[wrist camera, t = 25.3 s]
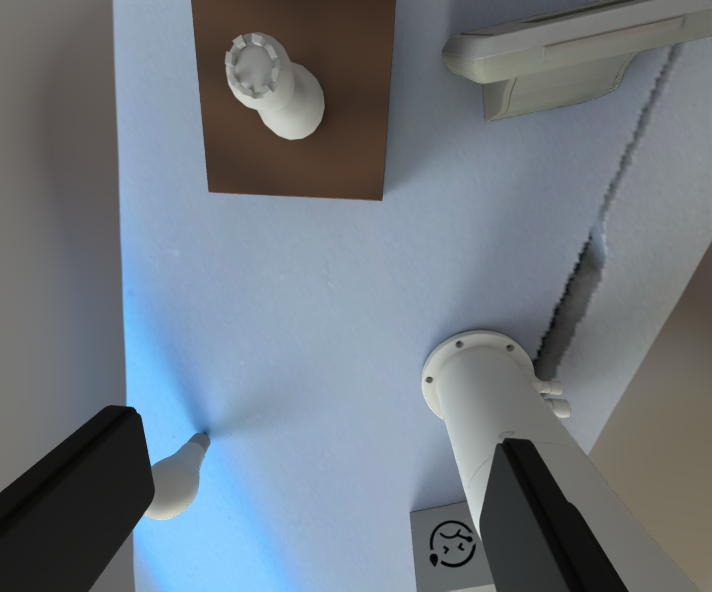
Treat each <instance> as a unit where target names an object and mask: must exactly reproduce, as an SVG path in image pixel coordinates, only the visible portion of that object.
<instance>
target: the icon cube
mask: <svg viewBox="0 0 712 592" xmlns="http://www.w3.org/2000/svg"><path fill="white" fill-rule="evenodd" d="M410 522H411V533H412V544H413V555H414V565H415V576H416V587H417V592H497V591H496V588H495V584H494V581H493V578H492V574H491V571H490V567H489V564H488V560H487V557H486V553H485V550H484V547H483V543H482V541H481V539H480V537H479V535H478V533H477V530H476V528H475V525H474V523H473V519H472V516H471V512H470V509H469V505H468V502H467V501H466V502H461V503H456V504H451V505H446V506H441V507H436V508H431V509H426V510H421V511H416V512H411V513H410Z"/></svg>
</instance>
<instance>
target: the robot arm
mask: <svg viewBox="0 0 712 592" xmlns="http://www.w3.org/2000/svg"><path fill="white" fill-rule="evenodd" d="M458 341H460V342H458ZM456 342H458V343H456ZM421 381H422V390H423V394H424V397H425V400H426V402H427V404H428V405H429V407H430V408H431V410H432V411H433V412H434V413H435V414H436V415H437V416H439V417H440V418H441V419H443V420H444V421H445V423H446V427H447V430H448V434H449V437H450V441H451V444H452V448H453V452H454V455H455V459H456V462H457V466H458V469H459V473H460V477H461V480H462V484H463V487H464V491H465V494H466V498H467V502H468V505H469V509H470V512H471V516H472V519H473V523H474V525H475V528H476V530H477V533H478V535H479V537H480V539H481V541H482V543H483V547H484V550H485V553H486V557H487V560H488V564H489V567H490V571H491V574H492V578H493V581H494V584H495V588H496V591H497V592H703V591H702V590H701V589H700V588H699V587H698V586H697V585H696V584H695V583H694V582H693V581H692V580H691V579H690V578H689V577H688V575H687V574H686V573H685V572H684V571H683V570H682V569H681V568H680V567H679V566H678V564H677V563H676V562H675V561H674V560H673V559H672V558H671V557H670V556H669V555H668V554H667V552H666V551H665V550H664V549H663V548H662V547H661V546H660V545H659V544H658V543H657V541H656V540H655V539H654V538H653V537H652V536H651V535H650V534H649V533H648V531H647V530H646V529H645V528H644V526H643V525H642V524H641V523H640V522H639V520H638V519H637V518H636V517H635V516H634V514H633V513H632V512H631V511H630V509H629V508H628V507H627V506H626V505H625V503H624V502H623V501H622V500H621V498H620V497H619V496H618V495H617V494H616V493H615V491H614V490H613V489H612V488H611V486H610V485H609V484H608V482H607V481H606V480H605V478H604V477H603V476H602V475H601V473H600V472H599V471H598V469H597V468H596V467H595V465H594V464H593V463H592V462H591V460H590V459H589V458H588V456H587V455H586V454H585V453H584V451H583V450H582V449H581V447H580V446H579V445H578V443H577V442H576V441H575V440H574V438H573V437H572V436H571V434H570V433H569V432H568V430H567V429H566V428H565V427H564V425H563V424H562V423H561V421H560V420H559V419H558V417H562V418H568V417H569V416H570V413H571V408H570V404H569V403H568V401H567V400H564V399H551V398H549V399H543V398H542V397H541V395H540V393H548V394H556V395H561V394H562V393H563V389H564V388H563V385H562V383H561V382H558V381H540V379H539V378H536V376H535V375H534V368H533V365H532V362H531V360H530V358H529V356H528V355H527V353H526V352H525V351H524V350H523V348H522V347H521V346H520V345H519V344H518V343H516V342H515V341H514V340H512V339H511V338H509V337H507V336H505V335H503V334H501V333H497V332H493V331H486V330H475V331H467V332H463V333H460V334H457V335H455V336H452V337H450V338H448V339H447V340H445V341H444V342H442V343H441V344H439V345H438V346H437V347H436V348H435V349H434V350H433V351H432V353H431V354H430V356H429V357H428V359H427V360H426V362H425V365H424V367H423V371H422V377H421ZM154 495H155V486H154V480H153V475H152V470H151V465H150V460H149V454H148V449H147V444H146V439H145V434H144V429H143V423H142V418H141V415H140V414H139V413H137V412H136V409H135V408H134V407H127V406H115V405H110V406H107V407H105V408H104V409H102V410H101V411H100V412H99V413H97V414H96V415H95V416H94V417H92V418H91V419H90V420H89V421H88V422H86V423H85V424H84V425H83V426H81V427H80V428H79V429H78V430H76V431H75V432H74V433H73V434H72V435H70V436H69V437H68V438H67V439H65V440H64V441H63V442H62V443H60V444H59V445H58V446H57V447H56V448H54V449H53V450H52V451H51V452H49V453H48V454H47V455H46V456H45V457H44V458H42V459H41V460H40V461H38V462H37V463H36V464H35V465H33V466H32V467H31V468H30V469H29V470H27V471H26V472H25V473H24V474H22V475H21V476H20V477H19V478H17V479H16V480H15V481H14V482H13V483H11V484H10V485H9V486H8V487H7V488H5V489H4V490H3V491H2V492H0V592H89V590H90V589H91V587H92V586H93V585H94V583H95V582H96V580H97V579H98V578H99V576H100V575H101V573H102V572H103V571H104V569H105V568H106V566H107V565H108V564H109V562H110V561H111V559H112V558H113V556H114V555H115V554H116V552H117V551H118V550H119V548H120V547H121V545H122V544H123V543H124V541H125V540H126V538H127V537H128V536H129V534H130V533H131V531H132V530H133V529H134V527H135V526H136V524H137V523H138V522H139V520H140V519H141V517H142V516H143V514H144V513H145V512H146V510H147V509H148V507H149V506H150V504H151V503H152V501H153V498H154Z"/></svg>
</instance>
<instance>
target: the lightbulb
mask: <svg viewBox="0 0 712 592" xmlns="http://www.w3.org/2000/svg"><path fill="white" fill-rule="evenodd" d="M209 445H210V438H209V437H208V436H207V435H206V434H204V433H196V434H194V435H193V436H192V438H190V440H189V441H188V442H187V443H186V444H184V445H183V446H182V447H181V448H180V449H179V450H178V451H177V452H176V453H175V454H173V455H172V456H170V457H167V458H165V459H163V460H161V461H159V462H157V463H155V464H154V465H153V466H151V470H152V475H153V480H154V486H155V495H154V498H153V501H152V503H151V504H150V506H149V507H148V509H147V510H146V512H145V513H144V515H146V516H147V517H149V518H151V519H155V520H166V519H170V518H172V517H175V516H177V515H179V514H180V513H182V512H183V511H184V510H185V509H187V507H188V506H189V505H190V504H191V503H192V502H193V500H194V498H195V496H196V494H197V491H198V487H199V470H200V466H201V463H202V461H203V459H204V457H205V453H206V451H207V449H208V447H209Z"/></svg>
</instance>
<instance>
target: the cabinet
mask: <svg viewBox="0 0 712 592" xmlns="http://www.w3.org/2000/svg"><path fill="white" fill-rule="evenodd" d="M191 4H192V15H193V26H194V37H195V48H196V59H197V70H198V81H199V92H200V103H201V114H202V125H203V136H204V147H205V158H206V169H207V180H208V191H209V192H212V193H231V194H251V195H271V196H291V197H310V198H330V199H350V200H369V201H382V198H383V183H384V169H385V154H386V139H387V125H388V110H389V95H390V81H391V66H392V52H393V37H394V22H395V8H396V0H191ZM257 32H260V33H263V34H266V35H269V36H272V37H273V38H274V39H275V40H276V41H278V42H279V43H280V44H281V45H282V46H283V47H284V49H285V51H286V53H287V55H288V57H289V59H290V62H293V63H296V64H299V65H302V66H304V67H305V68H306V69H307V70H308V71H309V72H310V73H311V74H312V75H313V76H314V77H315V78H316V79H317V81H318V83H319V85H320V87H321V89H322V91H323V96H324V105H325V108H324V112H323V116H322V120H321V122H320V123H319V125H318V126H317V128H316V129H315V131H314V132H313V133H311V134H309V135H308V136H306V137H304V138H303V139H294V140H289V139H286V138H283V137H280V136H278V135H277V134H276V133H274V132H273V131H272V130H271V129H270V128H269V127H268V126H266V125H265V124H264V122H263V120H262V118H261V116H260V114H259V113H258V110H256V109H253V108H250V107H247V106H245V105H244V104H243V103H242V102H241V101H239V100H238V99H237V98H236V97H235V95H234V93H233V92H232V90H231V88H230V86H229V84H228V79H227V74H226V64H225V58H226V51H227V52H230V50H231V48H232V46H233V45H234V42H233V40H234V39H236V38H237V37H238V36H240V35H242V36H244V35H246V34H250V33H257Z"/></svg>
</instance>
